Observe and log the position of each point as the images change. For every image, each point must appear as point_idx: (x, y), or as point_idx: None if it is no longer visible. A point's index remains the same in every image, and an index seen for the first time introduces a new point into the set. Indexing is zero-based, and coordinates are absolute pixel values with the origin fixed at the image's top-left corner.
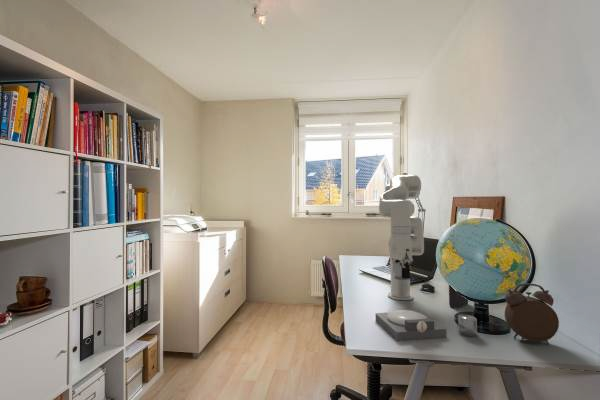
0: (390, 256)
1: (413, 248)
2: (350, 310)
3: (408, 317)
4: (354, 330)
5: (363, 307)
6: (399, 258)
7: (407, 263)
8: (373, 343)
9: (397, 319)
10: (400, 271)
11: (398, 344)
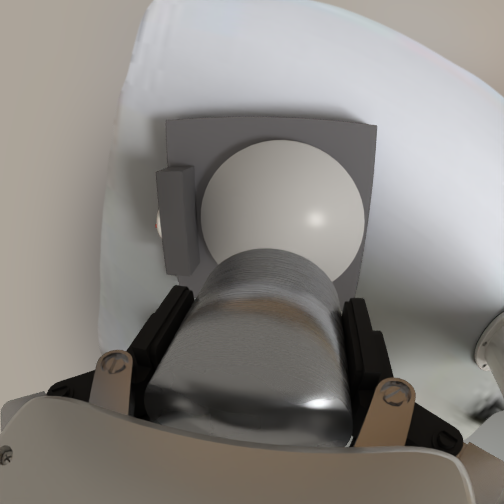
0: (421, 456)
1: None
2: (484, 91)
3: (270, 227)
4: (288, 9)
5: (499, 160)
6: (41, 410)
7: (48, 390)
8: (176, 42)
9: (256, 169)
10: (183, 320)
11: (157, 115)
